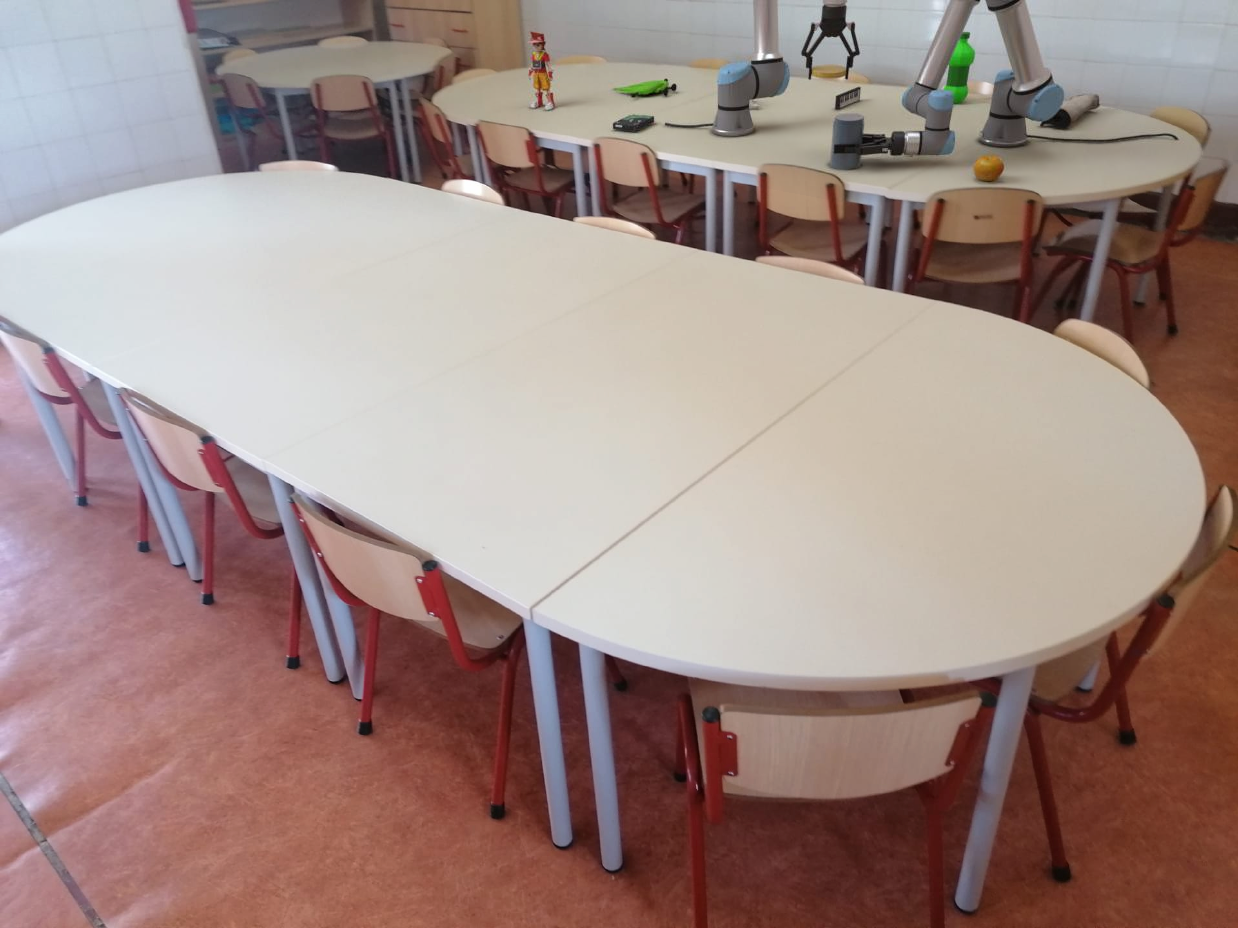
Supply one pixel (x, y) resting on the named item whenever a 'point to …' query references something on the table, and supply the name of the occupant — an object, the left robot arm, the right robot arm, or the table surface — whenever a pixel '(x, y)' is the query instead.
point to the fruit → (988, 168)
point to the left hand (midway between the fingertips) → (828, 78)
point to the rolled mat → (1073, 110)
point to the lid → (828, 71)
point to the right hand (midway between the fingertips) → (833, 144)
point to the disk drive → (633, 123)
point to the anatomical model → (752, 104)
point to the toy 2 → (648, 88)
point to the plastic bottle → (960, 68)
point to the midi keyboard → (847, 97)
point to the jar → (846, 139)
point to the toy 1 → (541, 71)
